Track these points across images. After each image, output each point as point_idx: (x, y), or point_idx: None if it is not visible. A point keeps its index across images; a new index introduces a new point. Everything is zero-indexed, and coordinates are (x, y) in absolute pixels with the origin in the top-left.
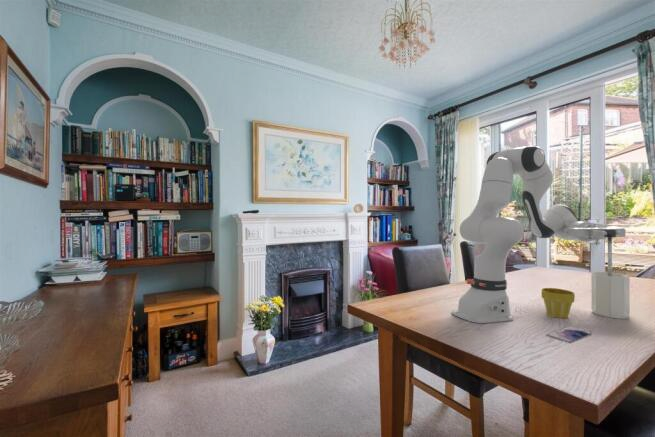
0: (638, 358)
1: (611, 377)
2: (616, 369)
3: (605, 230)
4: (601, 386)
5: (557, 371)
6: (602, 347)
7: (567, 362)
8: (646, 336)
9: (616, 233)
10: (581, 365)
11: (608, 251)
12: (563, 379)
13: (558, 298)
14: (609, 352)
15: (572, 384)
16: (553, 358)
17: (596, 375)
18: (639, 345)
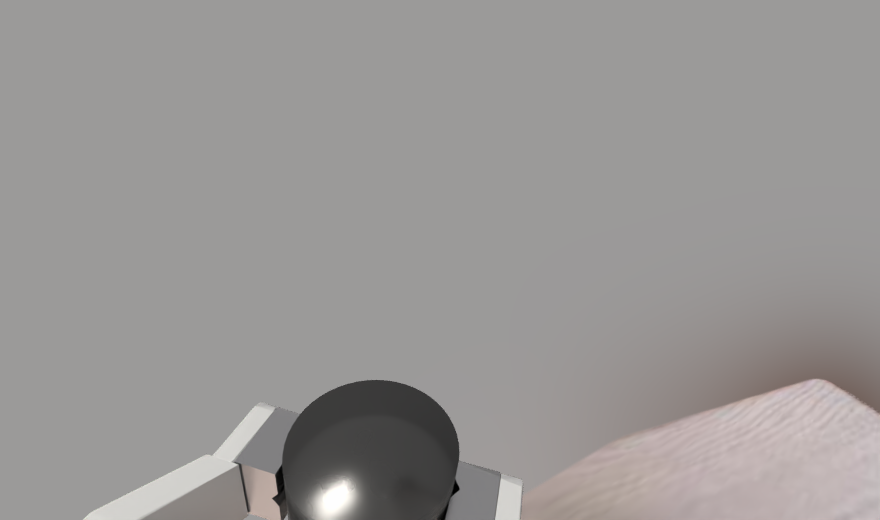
0: (661, 432)
1: (764, 405)
2: (739, 417)
3: (454, 475)
4: (794, 395)
5: (861, 440)
6: (710, 489)
7: (832, 458)
8: None
9: None
10: (804, 443)
11: None
12: (854, 420)
13: None
14: (709, 465)
15: (842, 408)
16: (862, 478)
17: (789, 414)
18: (599, 472)
